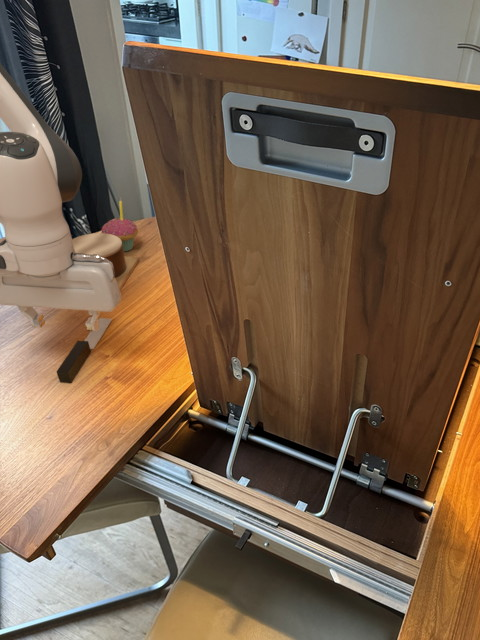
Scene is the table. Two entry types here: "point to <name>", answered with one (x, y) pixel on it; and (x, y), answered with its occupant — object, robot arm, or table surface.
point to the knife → (81, 353)
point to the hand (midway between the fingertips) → (66, 327)
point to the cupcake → (122, 230)
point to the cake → (107, 253)
